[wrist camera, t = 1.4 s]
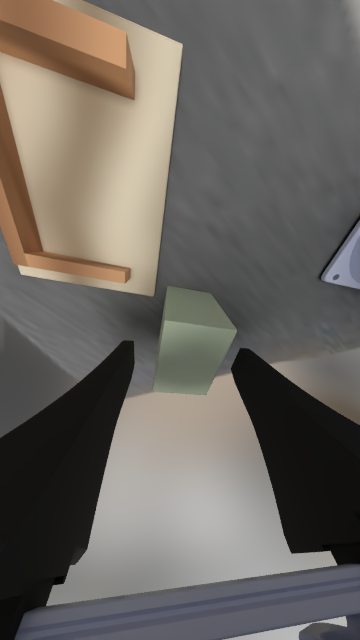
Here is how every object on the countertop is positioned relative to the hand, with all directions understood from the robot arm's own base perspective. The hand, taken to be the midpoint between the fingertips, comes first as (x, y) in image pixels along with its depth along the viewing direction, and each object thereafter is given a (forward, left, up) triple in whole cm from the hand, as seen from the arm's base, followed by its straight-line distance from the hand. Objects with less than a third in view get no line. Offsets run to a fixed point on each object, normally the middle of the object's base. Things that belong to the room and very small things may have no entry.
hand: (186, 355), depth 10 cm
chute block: (0, 0, -5) cm, 5 cm away
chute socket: (+8, -8, -5) cm, 12 cm away
